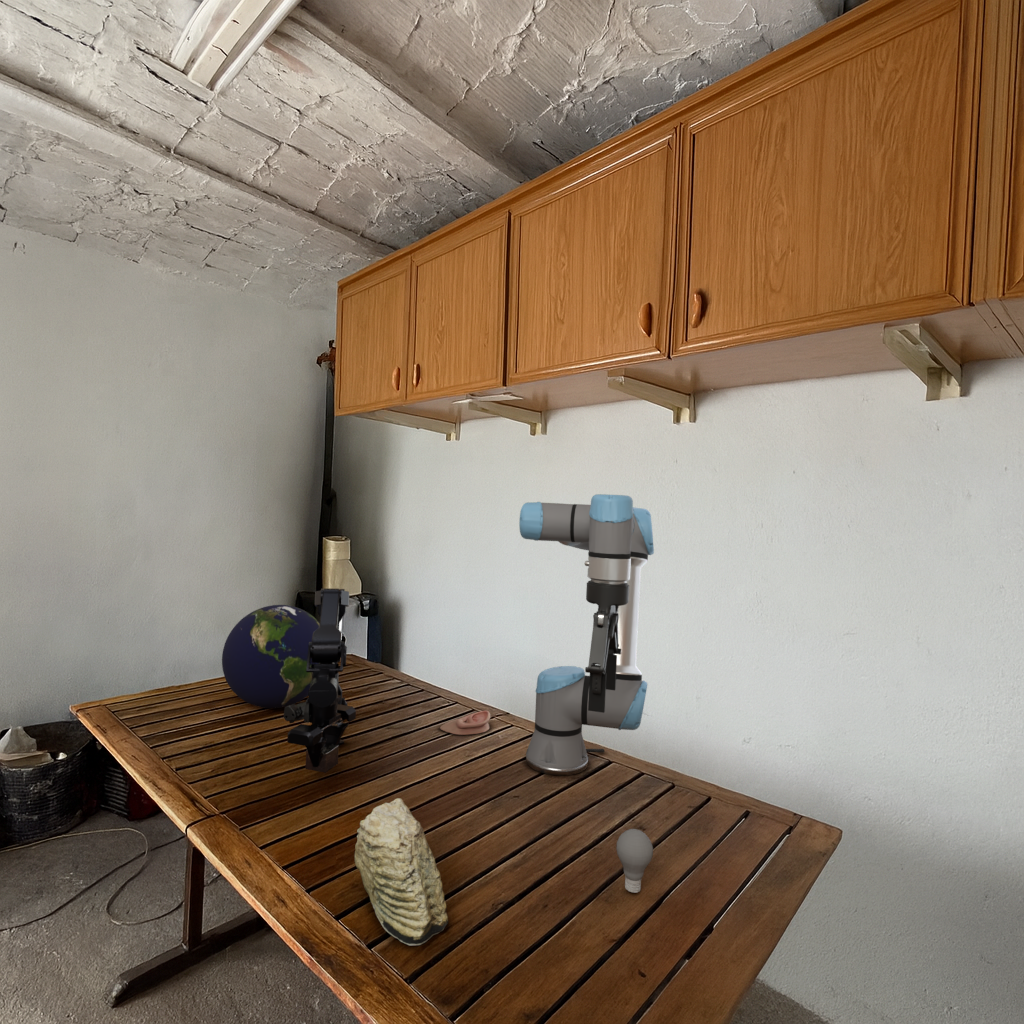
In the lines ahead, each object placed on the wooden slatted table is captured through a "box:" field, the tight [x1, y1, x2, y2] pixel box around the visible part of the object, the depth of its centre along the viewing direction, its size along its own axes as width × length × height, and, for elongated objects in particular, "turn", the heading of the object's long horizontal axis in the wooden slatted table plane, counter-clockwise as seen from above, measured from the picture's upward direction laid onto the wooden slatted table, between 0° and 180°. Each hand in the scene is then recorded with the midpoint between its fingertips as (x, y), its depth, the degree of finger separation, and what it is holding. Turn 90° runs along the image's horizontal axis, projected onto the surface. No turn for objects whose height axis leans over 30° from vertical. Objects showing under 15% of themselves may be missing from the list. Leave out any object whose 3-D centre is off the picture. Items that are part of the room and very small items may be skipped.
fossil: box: [354, 797, 449, 947], centre depth 98 cm, size 9×18×15 cm, turn 46°
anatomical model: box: [439, 709, 491, 736], centre depth 177 cm, size 13×4×12 cm
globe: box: [221, 604, 320, 709], centre depth 188 cm, size 30×30×30 cm
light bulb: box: [615, 828, 654, 894], centre depth 106 cm, size 6×6×10 cm
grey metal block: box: [305, 743, 340, 774], centre depth 142 cm, size 5×5×4 cm
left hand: (322, 761), depth 142 cm, fingers closed on grey metal block, 5 cm apart
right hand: (602, 699), depth 113 cm, fingers open, 13 cm apart
